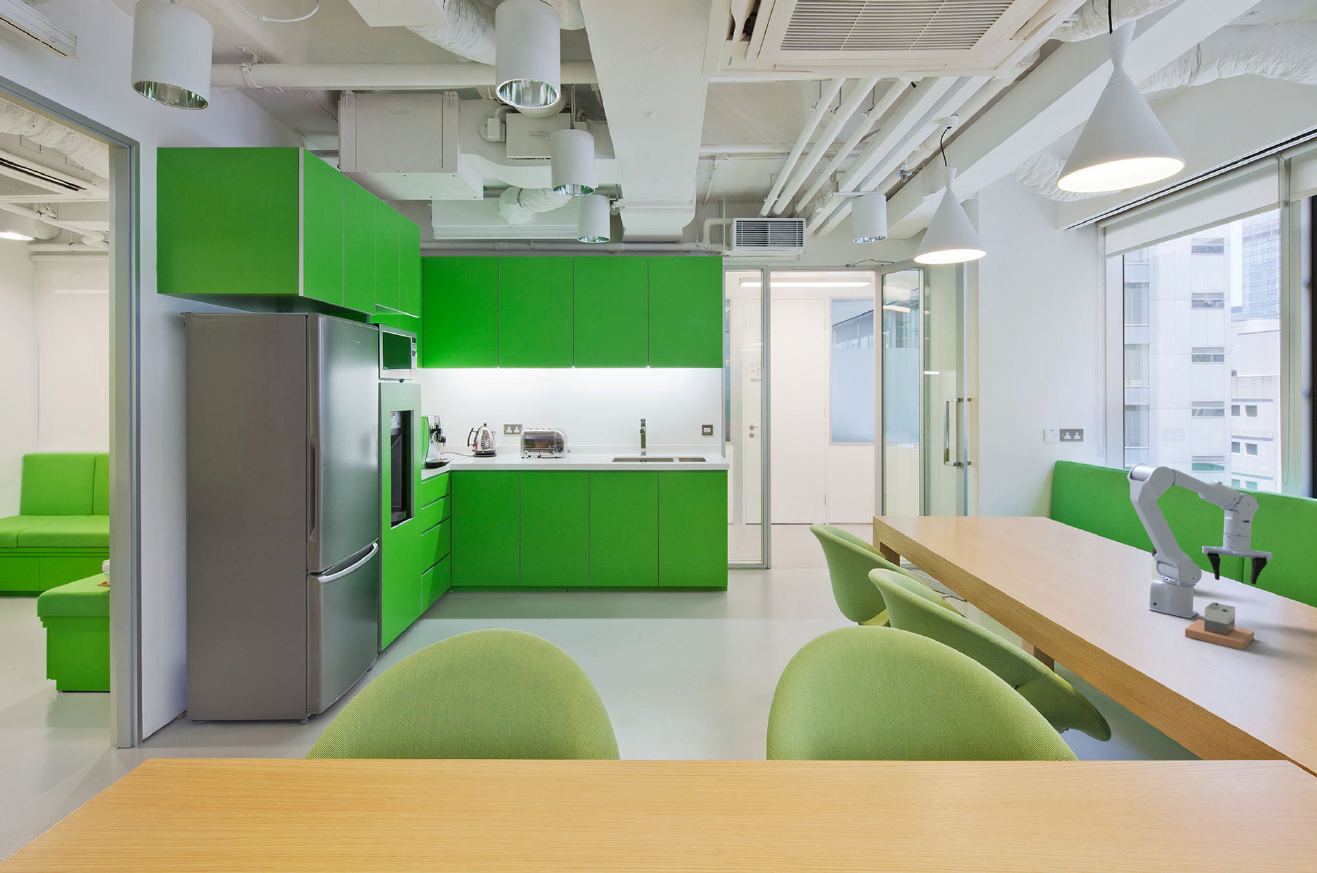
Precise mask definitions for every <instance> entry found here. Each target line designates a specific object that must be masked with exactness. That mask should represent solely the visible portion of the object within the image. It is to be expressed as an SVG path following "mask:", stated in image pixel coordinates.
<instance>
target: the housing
mask: <svg viewBox="0 0 1317 873" xmlns="http://www.w3.org/2000/svg"><path fill="white" fill-rule="evenodd" d="M1204 620H1205V622H1204V631H1208V632H1212V633H1216V634H1221V635H1225V636H1228V635H1229V634H1230V633H1231V632H1232V631H1234V628H1235V627H1236V623H1235V622H1236V606H1233V605H1232V606H1231V605H1227V604H1221V603H1219V602H1212V603H1210V604H1208V605H1207V606H1205V608H1204Z"/></svg>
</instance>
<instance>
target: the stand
mask: <svg viewBox="0 0 1317 873" xmlns="http://www.w3.org/2000/svg"><path fill="white" fill-rule="evenodd" d="M1204 622H1205V619H1200V618H1198V619H1197V620H1196V621H1194V622H1193V623H1191V624H1190V625H1189V626H1187V627H1186V628H1185V630H1184V631H1185V632H1184V637H1185V636H1188V637H1187V638H1189V637H1191V638H1190V639H1193V638H1197V639H1196V640H1198V639H1199V641H1202V640H1204V641H1203V642H1206V641H1207V642H1206V643H1211V644H1215V645H1220V646H1223V647H1227V648H1232V649H1235V650H1236V649H1237V650H1240V649H1241V650H1240V651H1243V650H1244V649H1245V648H1246V647H1247V646H1248V645H1249V644H1251V642H1252V641H1253V640H1255V631H1254V630H1250V629H1245V628H1241V627H1237V626H1235V628H1234V631H1232V632H1231V633H1230V634H1229V635H1228V636H1225V635H1221V634H1216V633H1212V632H1208V631H1204ZM1251 640H1252V641H1251ZM1244 647H1245V648H1244ZM1242 649H1243V650H1242Z"/></svg>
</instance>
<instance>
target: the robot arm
mask: <svg viewBox="0 0 1317 873" xmlns="http://www.w3.org/2000/svg"><path fill="white" fill-rule="evenodd" d="M1126 478H1127V481H1128V482H1129V495H1130V496H1129V499H1130V503H1131V504H1132V506H1133V508H1134V511H1135V512H1136V514H1137V516H1138V519H1139V520H1140V523H1141V524H1142V526H1143V528H1144V530H1145V531H1146V533H1147V535H1148V537H1149V540H1150V541H1151V543H1152V545H1153V548H1155V549H1156V551H1157V554H1155V556H1154V559H1155V561H1156V570H1157V572H1158V573H1159V574H1160V578H1161V579H1156V578H1155V579H1153V580H1152V583H1151V584H1150V589H1149V590H1150V591H1149V607H1148V610H1150V611H1153V612H1158V613H1163V614H1168V615H1172V616H1176V617H1180V616H1181V618H1185V619H1191V618H1193V617H1194V616H1196V615H1197V614H1198V611H1197V610H1194V597H1195V596H1194V592H1195V587H1196V586H1197V585H1196V584H1197V583H1199V582H1200V580H1201V578H1202V577H1203V576H1202V575H1203V573H1202V569H1201V567H1200V566H1199V565H1197V564H1196V563H1195V562H1194V561H1193V560H1192V558H1191V556H1189V555H1188V554H1187V553H1186V552H1184V550H1182V548H1181V547H1180V545H1179V543H1178V542H1177V539H1176V538H1175V536H1174V533H1173V531H1172V530H1171V528H1170V526H1169V524H1168V522H1167V520H1166V518H1165V516H1164V514H1163V512H1162V510H1161V508H1160V506H1159V505H1158V503H1157V501H1158V499H1160V498H1161V497H1162V496H1163V495H1164V493H1166V491H1168V490H1169V488H1170V487H1171V486H1175V487H1176V486H1179V487H1183V488H1185V489H1187V490H1190V491H1193V492H1196V493H1197V495H1198V497H1199V498H1200V499H1201V500H1204V501H1206V502H1208V503H1210V504H1213V505H1216V506H1218V507H1220V509H1221V510H1224V518H1223V520H1224V521H1223V541H1222V543H1223V544H1222V546H1209V545H1202V547H1201V549H1202V550H1201V552H1202V554H1203V555H1204V554H1205V555H1206V557H1207V558H1208V560H1209V562H1210V564H1211V567H1212V571H1213V574H1214V580H1216V581H1220V565H1221V560H1222V559H1221V558H1220V556H1229V557H1240V558H1249V559H1250V560H1251V572H1250V583H1251V585H1256V584H1257V581H1258V579H1259V578H1258V577H1259V576H1260V574H1261V572H1262V571H1263V569H1264V568H1266V566H1267V565H1268V561H1273V553H1271V551H1261V550H1255V549H1251V542H1252V527H1253V526H1252V525H1253V524H1252V523H1253V522H1252V521H1253V519H1254V517H1255V513H1256V512H1257V511H1258V509H1259V507H1260V504H1259V503H1258V501H1257V500H1256V498H1255V497H1254V496H1253V495H1251V494H1250V493H1249V494H1248V493H1243V492H1239V489H1237V488H1234V487H1228V486H1225V485H1223V483H1224V482H1222V481H1219V480H1214V481H1213V480H1208V481H1202V480H1200V479H1198V478H1196V477H1193V476H1191V475H1189V474H1186V473H1184V472H1182V471H1180V470H1178V469H1174V468H1169V467H1167V466H1163V465H1161V466H1160V465H1159V466H1158V465H1153V464H1147V463H1137V464H1134V466H1132V467H1131V468H1130V471H1129V472H1128V474H1127V476H1126Z"/></svg>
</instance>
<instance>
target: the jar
mask: <svg viewBox="0 0 1317 873" xmlns="http://www.w3.org/2000/svg"><path fill="white" fill-rule="evenodd" d="M1155 554H1157V551H1156V549H1155V547H1152V548H1151V560H1150V578H1149V579H1150V580H1149V581H1150V582H1149V583H1150V585H1151V583H1152V580H1153V579H1155V578H1156V579H1161V578H1160V574H1159V573H1158V572H1157V570H1156V561H1155V559H1154V556H1155Z"/></svg>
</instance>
